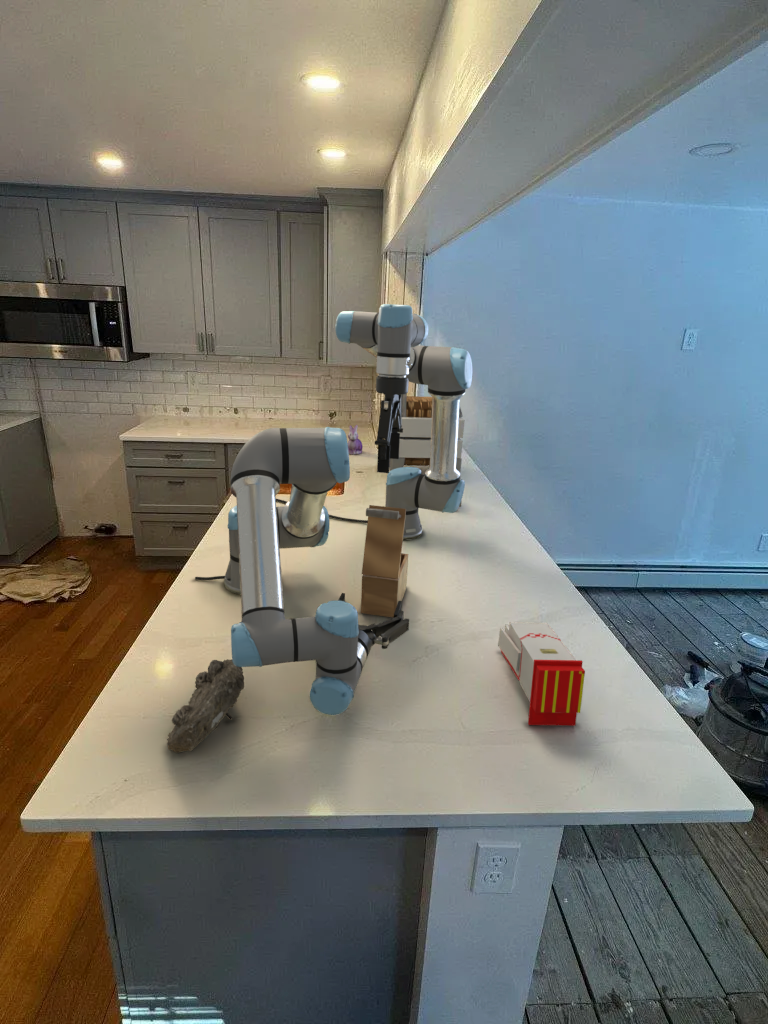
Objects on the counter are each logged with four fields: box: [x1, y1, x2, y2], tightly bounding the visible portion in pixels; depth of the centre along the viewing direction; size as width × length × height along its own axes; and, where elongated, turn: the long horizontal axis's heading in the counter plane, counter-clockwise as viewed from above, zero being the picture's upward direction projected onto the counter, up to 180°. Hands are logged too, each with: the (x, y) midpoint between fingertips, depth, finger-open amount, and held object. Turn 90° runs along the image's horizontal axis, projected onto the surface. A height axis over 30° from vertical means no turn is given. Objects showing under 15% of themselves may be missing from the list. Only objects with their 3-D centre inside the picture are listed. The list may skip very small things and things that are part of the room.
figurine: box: [347, 424, 364, 455], centre depth 305 cm, size 9×10×15 cm
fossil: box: [166, 658, 245, 754], centre depth 106 cm, size 22×10×15 cm
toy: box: [497, 621, 586, 727], centre depth 121 cm, size 12×13×30 cm
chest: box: [360, 552, 409, 618], centre depth 152 cm, size 17×9×11 cm, turn 169°
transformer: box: [389, 393, 465, 475], centre depth 268 cm, size 34×33×41 cm
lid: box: [361, 504, 406, 579], centre depth 139 cm, size 18×9×8 cm
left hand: (371, 601), depth 133 cm, fingers open, 13 cm apart
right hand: (388, 465), depth 137 cm, fingers open, 13 cm apart
